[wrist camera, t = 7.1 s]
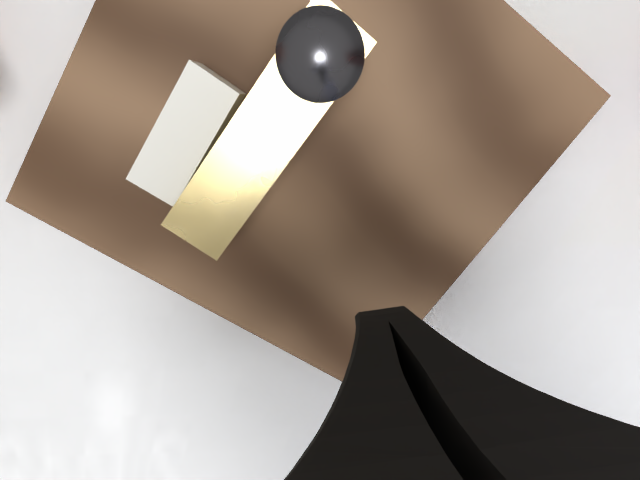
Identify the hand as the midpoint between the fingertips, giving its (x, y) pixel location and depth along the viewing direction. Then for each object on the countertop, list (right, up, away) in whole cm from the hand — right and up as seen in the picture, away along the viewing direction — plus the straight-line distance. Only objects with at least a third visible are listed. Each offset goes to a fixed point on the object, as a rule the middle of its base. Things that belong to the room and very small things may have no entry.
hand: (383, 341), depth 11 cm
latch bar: (-4, +7, +6) cm, 10 cm away
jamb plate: (-2, +7, +7) cm, 10 cm away
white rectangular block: (-7, +7, +6) cm, 12 cm away
